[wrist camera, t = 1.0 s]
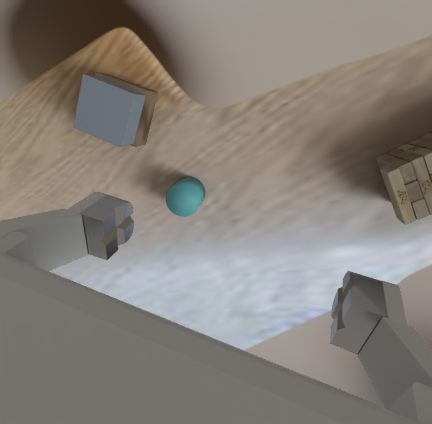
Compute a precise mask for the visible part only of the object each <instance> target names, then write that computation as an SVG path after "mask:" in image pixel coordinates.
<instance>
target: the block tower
mask: <svg viewBox="0 0 432 424" xmlns="http://www.w3.org/2000/svg"><path fill="white" fill-rule="evenodd" d="M376 161H377V164H378V167H379V169H380V172H381V175H382V177H383V180H384V183H385V186H386V189H387V191H388V194H389V197H390V200H391V203H392V205H393V208H394V211H395V214H396V216H397V218H398V219H399V220H400V221H401V222H402V223H404V224H405V225H406V224H409V223H412V222H414V221H416V219H421V218H424V217H427V216H428V215H431V214H432V131H431V132H430V133H428V134H425V135H423V136H421V137H419V138H417V139H415V140H413V141H410V142H408V143H407V144H404V145H402V146H399V147H397V148H396V149H394V150H392V151H389V152H387V153H386V154H383V155H381V156H379V157H377V158H376Z"/></svg>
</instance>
